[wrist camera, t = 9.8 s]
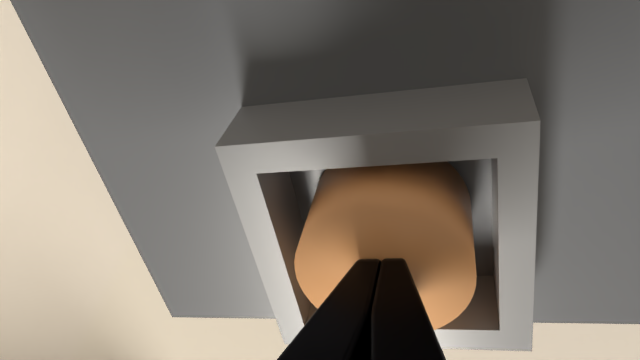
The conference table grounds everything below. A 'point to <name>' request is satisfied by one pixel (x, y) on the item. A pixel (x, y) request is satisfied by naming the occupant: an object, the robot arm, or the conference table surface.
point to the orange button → (392, 232)
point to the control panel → (362, 140)
